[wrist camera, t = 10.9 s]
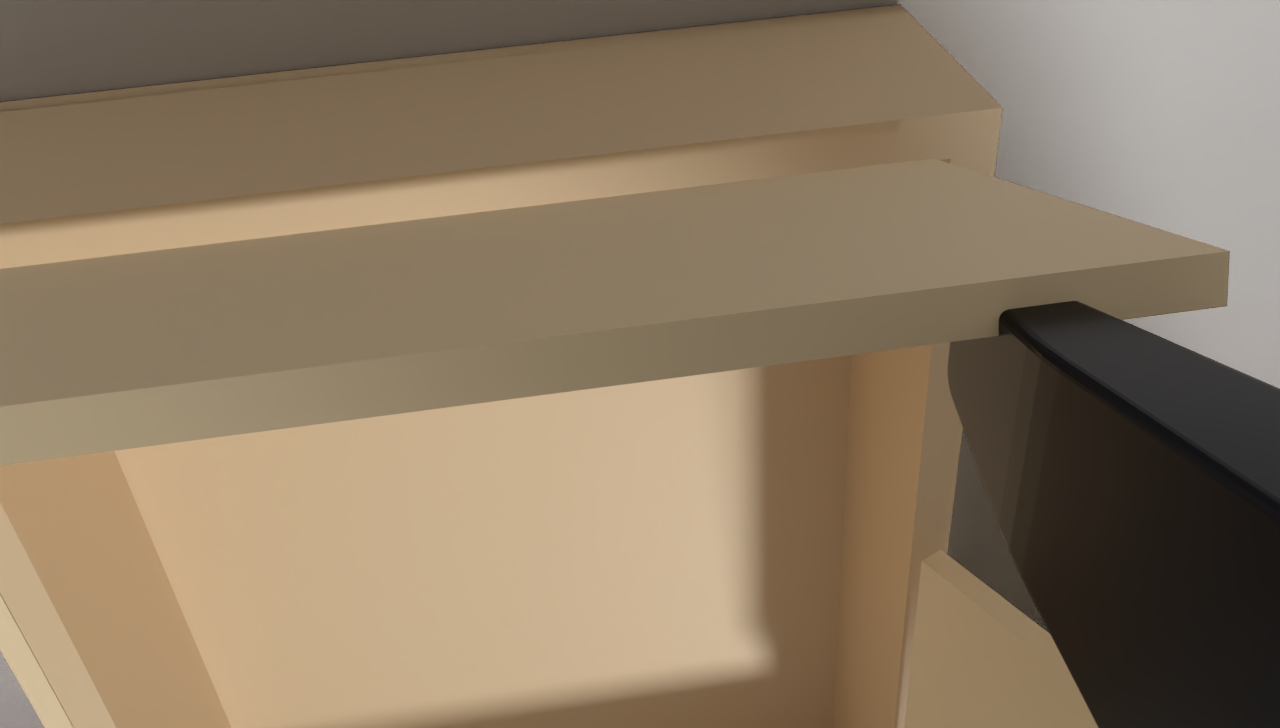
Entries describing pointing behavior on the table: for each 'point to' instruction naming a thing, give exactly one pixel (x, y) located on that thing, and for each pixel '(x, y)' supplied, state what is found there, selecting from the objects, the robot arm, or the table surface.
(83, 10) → the table surface
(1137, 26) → the table surface
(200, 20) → the table surface
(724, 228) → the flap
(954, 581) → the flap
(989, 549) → the table surface
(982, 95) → the carton
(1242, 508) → the robot arm
